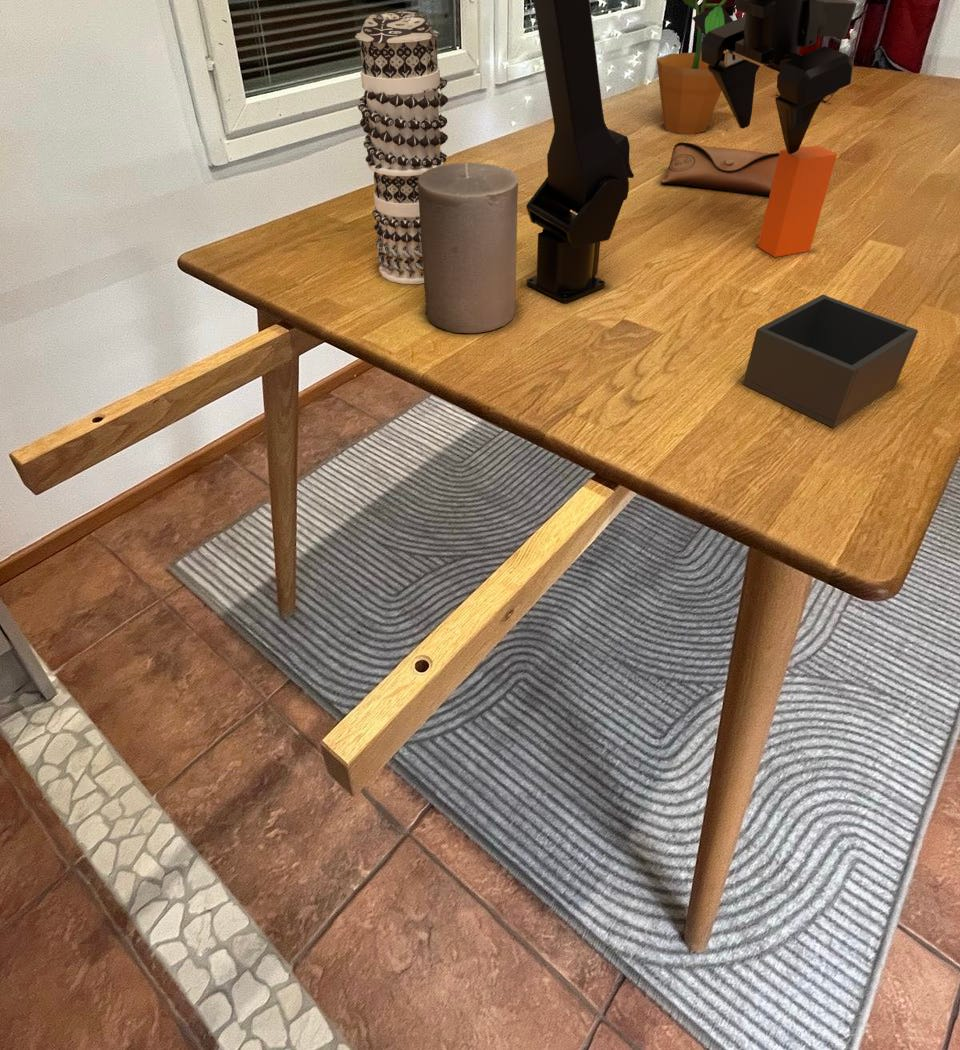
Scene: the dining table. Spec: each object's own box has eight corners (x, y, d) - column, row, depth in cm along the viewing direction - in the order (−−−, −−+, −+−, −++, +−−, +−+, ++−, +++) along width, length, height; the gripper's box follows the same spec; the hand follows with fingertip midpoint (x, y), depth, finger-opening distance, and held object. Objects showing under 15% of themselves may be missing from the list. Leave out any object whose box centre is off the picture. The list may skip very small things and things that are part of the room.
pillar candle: (407, 313, 80) (393, 164, 70) (472, 284, 85) (469, 141, 75) (470, 344, 75) (465, 188, 65) (536, 311, 80) (541, 162, 70)
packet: (809, 251, 90) (837, 153, 83) (774, 257, 89) (799, 159, 82) (791, 240, 93) (817, 144, 85) (757, 246, 92) (780, 150, 84)
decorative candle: (468, 273, 87) (462, 17, 70) (396, 292, 84) (371, 27, 67) (433, 247, 93) (418, 4, 76) (364, 263, 90) (333, 13, 73)
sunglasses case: (658, 182, 108) (669, 131, 106) (663, 194, 114) (673, 147, 113) (789, 196, 103) (803, 144, 101) (786, 208, 109) (799, 159, 108)
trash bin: (833, 428, 64) (854, 370, 60) (742, 384, 69) (756, 328, 65) (895, 386, 68) (918, 330, 64) (806, 348, 74) (822, 294, 70)
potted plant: (747, 144, 122) (797, -95, 102) (630, 141, 124) (656, -94, 104) (737, 114, 135) (779, -103, 114) (631, 112, 137) (655, -102, 117)
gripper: (915, -35, 69) (887, 138, 80) (789, -63, 81) (780, 90, 93) (807, 10, 68) (794, 178, 79) (697, -25, 80) (700, 125, 92)
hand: (767, 139), depth 86 cm, fingers open, 9 cm apart
